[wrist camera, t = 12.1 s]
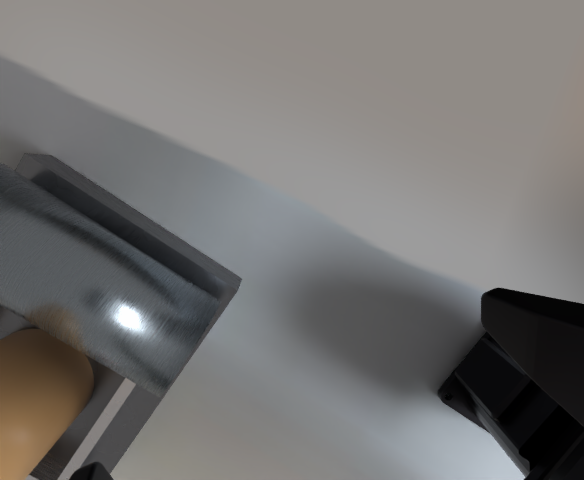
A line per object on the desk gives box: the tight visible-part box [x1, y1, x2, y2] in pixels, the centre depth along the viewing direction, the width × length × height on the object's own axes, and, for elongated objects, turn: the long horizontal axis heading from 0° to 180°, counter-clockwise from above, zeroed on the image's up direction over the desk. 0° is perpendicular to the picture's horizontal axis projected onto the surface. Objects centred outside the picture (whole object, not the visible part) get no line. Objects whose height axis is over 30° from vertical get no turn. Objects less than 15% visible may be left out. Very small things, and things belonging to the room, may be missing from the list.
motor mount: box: [0, 154, 242, 480], centre depth 17 cm, size 12×14×7 cm
